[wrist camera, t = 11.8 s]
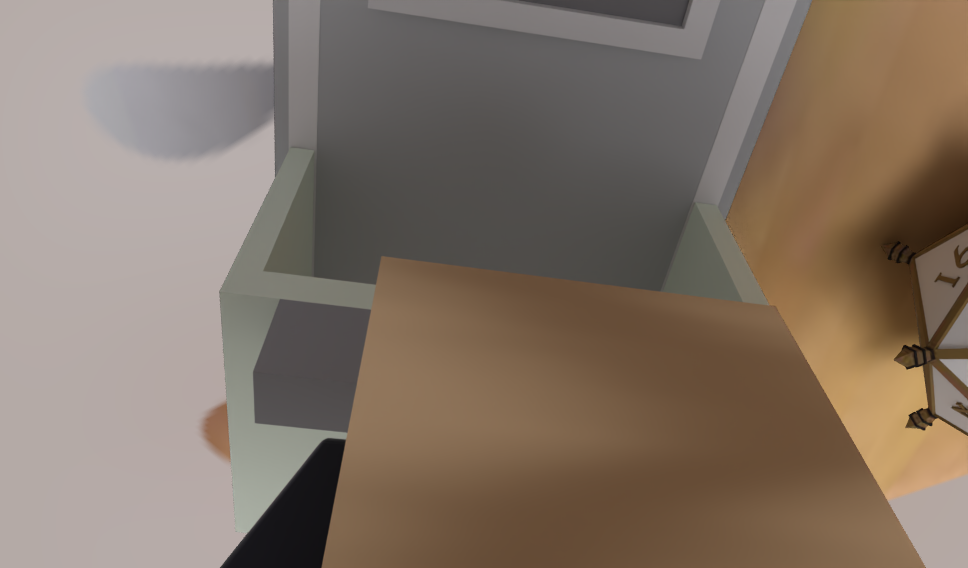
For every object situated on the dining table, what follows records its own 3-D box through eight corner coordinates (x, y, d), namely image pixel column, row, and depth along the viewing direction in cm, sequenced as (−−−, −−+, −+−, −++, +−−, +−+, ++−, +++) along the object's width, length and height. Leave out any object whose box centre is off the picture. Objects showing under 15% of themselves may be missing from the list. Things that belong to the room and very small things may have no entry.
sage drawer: (716, 205, 20) (838, 435, 13) (642, 399, 24) (705, 650, 17) (290, 146, 19) (183, 364, 12) (290, 360, 23) (210, 610, 16)
